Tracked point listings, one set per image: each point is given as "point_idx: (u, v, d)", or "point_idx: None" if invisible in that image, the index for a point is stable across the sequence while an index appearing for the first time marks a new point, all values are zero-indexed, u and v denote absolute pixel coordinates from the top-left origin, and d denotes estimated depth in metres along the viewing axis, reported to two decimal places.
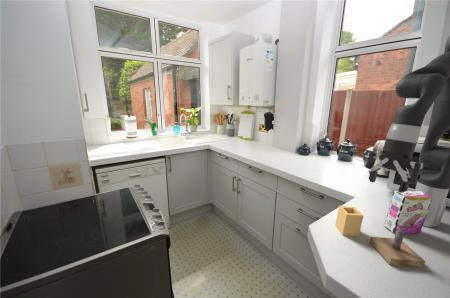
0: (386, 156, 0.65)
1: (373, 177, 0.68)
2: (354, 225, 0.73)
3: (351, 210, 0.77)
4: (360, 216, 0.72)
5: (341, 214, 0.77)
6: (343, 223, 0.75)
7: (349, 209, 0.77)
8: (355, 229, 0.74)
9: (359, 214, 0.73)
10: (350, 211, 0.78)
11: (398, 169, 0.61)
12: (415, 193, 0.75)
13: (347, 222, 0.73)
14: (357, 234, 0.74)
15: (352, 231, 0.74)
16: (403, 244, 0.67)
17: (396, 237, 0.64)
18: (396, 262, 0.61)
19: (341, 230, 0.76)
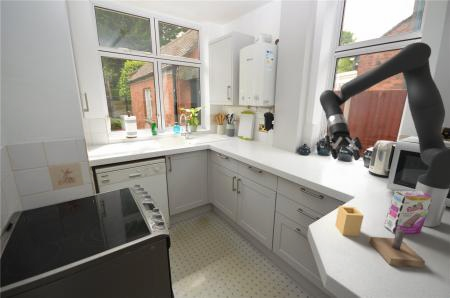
0: None
1: (354, 156, 0.81)
2: (354, 225, 0.73)
3: (351, 210, 0.77)
4: (360, 216, 0.72)
5: (341, 214, 0.77)
6: (343, 223, 0.75)
7: (349, 209, 0.77)
8: (355, 229, 0.74)
9: (359, 214, 0.73)
10: (350, 211, 0.78)
11: None
12: (415, 193, 0.75)
13: (347, 222, 0.73)
14: (357, 234, 0.74)
15: (352, 231, 0.74)
16: (403, 244, 0.67)
17: (396, 237, 0.64)
18: (396, 262, 0.61)
19: (341, 230, 0.76)
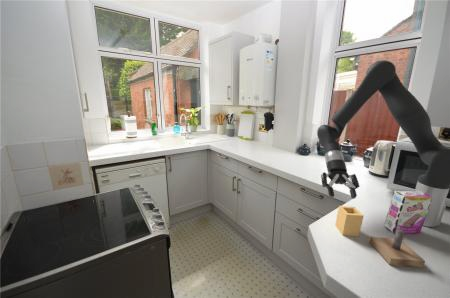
0: None
1: (351, 194, 0.82)
2: (354, 225, 0.73)
3: (351, 210, 0.77)
4: (360, 216, 0.72)
5: (341, 214, 0.77)
6: (343, 223, 0.75)
7: (349, 209, 0.77)
8: (355, 229, 0.74)
9: (359, 214, 0.73)
10: (350, 211, 0.78)
11: None
12: (415, 193, 0.75)
13: (347, 222, 0.73)
14: (357, 234, 0.74)
15: (352, 231, 0.74)
16: (403, 244, 0.67)
17: (396, 237, 0.64)
18: (396, 262, 0.61)
19: (341, 230, 0.76)
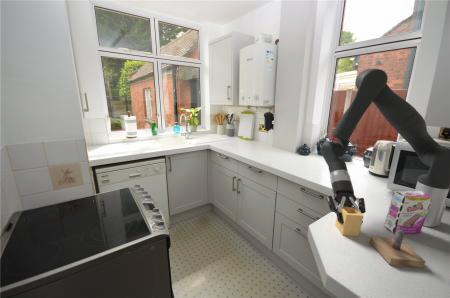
0: None
1: None
2: (354, 225, 0.73)
3: (351, 210, 0.77)
4: (360, 216, 0.72)
5: None
6: (343, 223, 0.75)
7: (349, 209, 0.77)
8: (355, 229, 0.74)
9: (359, 214, 0.73)
10: (350, 211, 0.78)
11: None
12: (415, 193, 0.75)
13: (347, 222, 0.73)
14: (357, 234, 0.74)
15: (352, 231, 0.74)
16: (403, 244, 0.67)
17: (396, 237, 0.64)
18: (396, 262, 0.61)
19: (341, 230, 0.76)
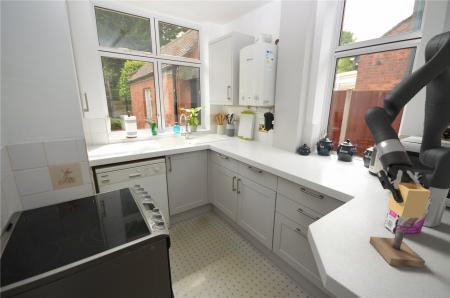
0: None
1: None
2: (417, 204, 0.59)
3: (410, 187, 0.63)
4: (426, 192, 0.58)
5: None
6: (402, 202, 0.60)
7: (407, 185, 0.63)
8: (418, 209, 0.59)
9: (424, 190, 0.58)
10: (408, 188, 0.63)
11: None
12: None
13: (408, 200, 0.59)
14: (420, 215, 0.59)
15: (414, 212, 0.59)
16: (403, 244, 0.67)
17: (396, 237, 0.64)
18: (396, 262, 0.61)
19: (398, 211, 0.61)
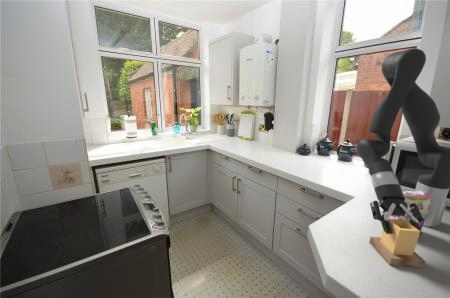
0: None
1: None
2: (408, 242, 0.61)
3: (401, 224, 0.65)
4: (416, 232, 0.60)
5: None
6: (394, 240, 0.63)
7: (399, 222, 0.65)
8: (409, 247, 0.62)
9: (414, 229, 0.61)
10: (400, 225, 0.66)
11: None
12: (415, 193, 0.75)
13: (400, 239, 0.61)
14: (411, 253, 0.62)
15: (405, 249, 0.62)
16: None
17: None
18: (396, 262, 0.61)
19: (390, 247, 0.64)
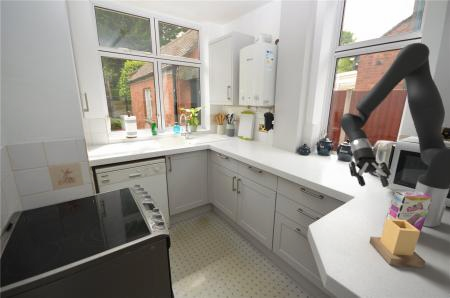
0: None
1: (382, 182, 0.79)
2: (408, 242, 0.61)
3: (401, 224, 0.65)
4: (416, 232, 0.60)
5: (389, 228, 0.65)
6: (394, 240, 0.63)
7: (399, 222, 0.65)
8: (409, 247, 0.62)
9: (414, 229, 0.61)
10: (400, 225, 0.66)
11: None
12: (415, 193, 0.75)
13: (400, 239, 0.61)
14: (411, 253, 0.62)
15: (405, 249, 0.62)
16: None
17: None
18: (396, 262, 0.61)
19: (390, 247, 0.64)
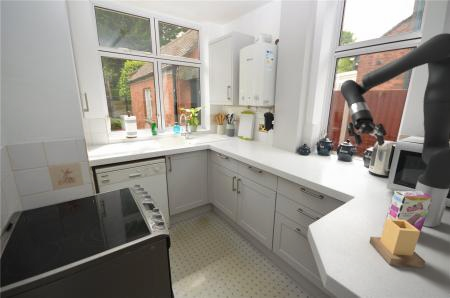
0: None
1: (378, 141, 0.83)
2: (408, 242, 0.61)
3: (401, 224, 0.65)
4: (416, 232, 0.60)
5: (389, 228, 0.65)
6: (394, 240, 0.63)
7: (399, 222, 0.65)
8: (409, 247, 0.62)
9: (414, 229, 0.61)
10: (400, 225, 0.66)
11: None
12: (415, 193, 0.75)
13: (400, 239, 0.61)
14: (411, 253, 0.62)
15: (405, 249, 0.62)
16: None
17: None
18: (396, 262, 0.61)
19: (390, 247, 0.64)
